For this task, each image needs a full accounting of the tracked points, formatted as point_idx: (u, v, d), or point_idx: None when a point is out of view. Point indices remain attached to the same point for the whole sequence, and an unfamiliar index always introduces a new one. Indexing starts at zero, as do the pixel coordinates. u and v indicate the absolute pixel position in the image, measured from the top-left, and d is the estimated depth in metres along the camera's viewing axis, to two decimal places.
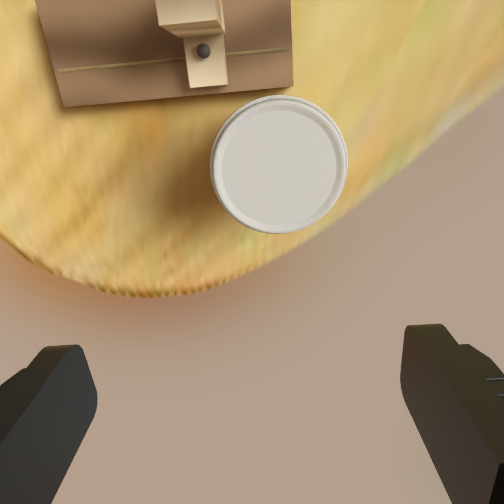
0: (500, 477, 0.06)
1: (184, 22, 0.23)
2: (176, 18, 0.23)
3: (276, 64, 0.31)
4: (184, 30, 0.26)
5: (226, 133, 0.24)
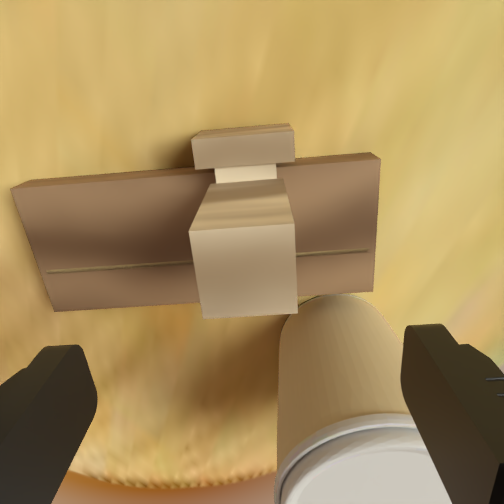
0: (500, 477, 0.06)
1: (244, 315, 0.14)
2: (232, 311, 0.14)
3: (351, 267, 0.22)
4: None
5: (308, 477, 0.15)
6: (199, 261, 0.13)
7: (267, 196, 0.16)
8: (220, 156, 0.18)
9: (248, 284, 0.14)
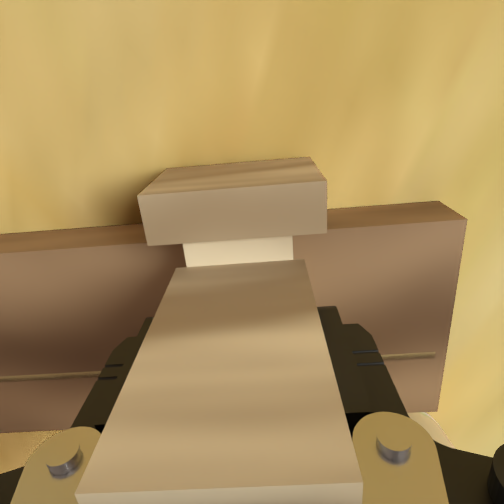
0: None
1: None
2: None
3: (406, 378, 0.14)
4: None
5: None
6: None
7: (279, 323, 0.08)
8: (192, 224, 0.10)
9: None
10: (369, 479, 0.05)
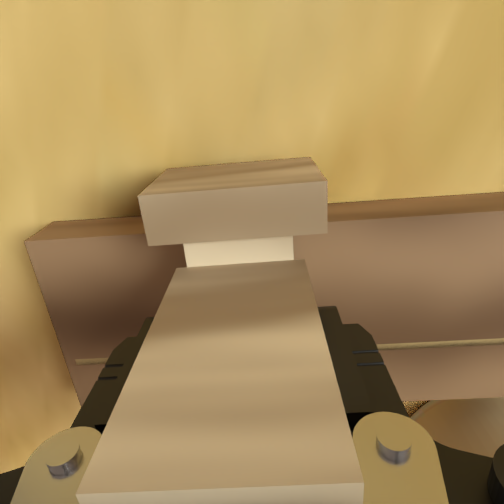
0: None
1: None
2: None
3: None
4: None
5: None
6: None
7: (280, 323, 0.08)
8: (193, 224, 0.10)
9: None
10: (369, 479, 0.05)
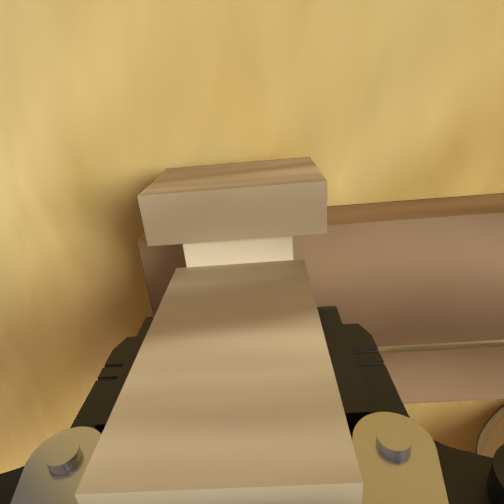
0: None
1: None
2: None
3: None
4: None
5: None
6: None
7: (279, 324, 0.08)
8: (192, 225, 0.10)
9: None
10: (369, 479, 0.05)
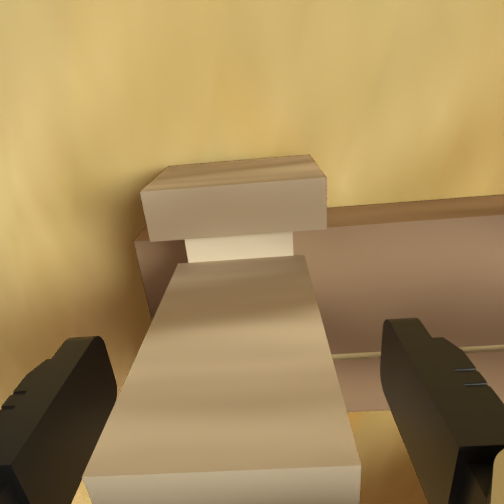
0: (461, 460, 0.06)
1: None
2: None
3: None
4: None
5: None
6: None
7: (279, 316, 0.08)
8: (194, 220, 0.10)
9: None
10: None
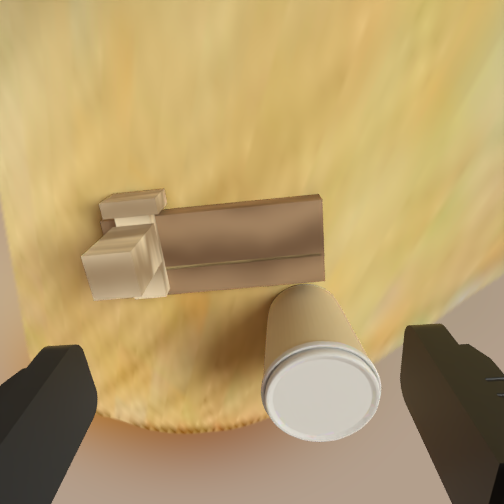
0: (500, 477, 0.06)
1: (115, 298, 0.28)
2: (108, 296, 0.28)
3: (310, 265, 0.35)
4: None
5: (278, 375, 0.28)
6: (87, 271, 0.27)
7: (133, 236, 0.29)
8: (116, 212, 0.32)
9: (114, 282, 0.27)
10: None
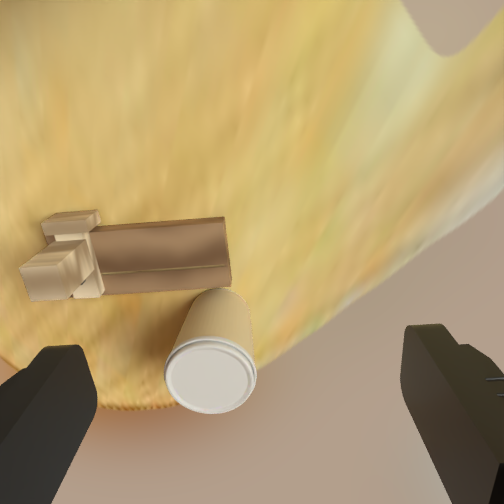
0: (500, 477, 0.06)
1: (47, 300, 0.36)
2: (41, 298, 0.36)
3: (217, 274, 0.43)
4: None
5: (172, 361, 0.36)
6: (24, 279, 0.35)
7: (65, 250, 0.37)
8: (55, 230, 0.40)
9: (45, 287, 0.35)
10: None
